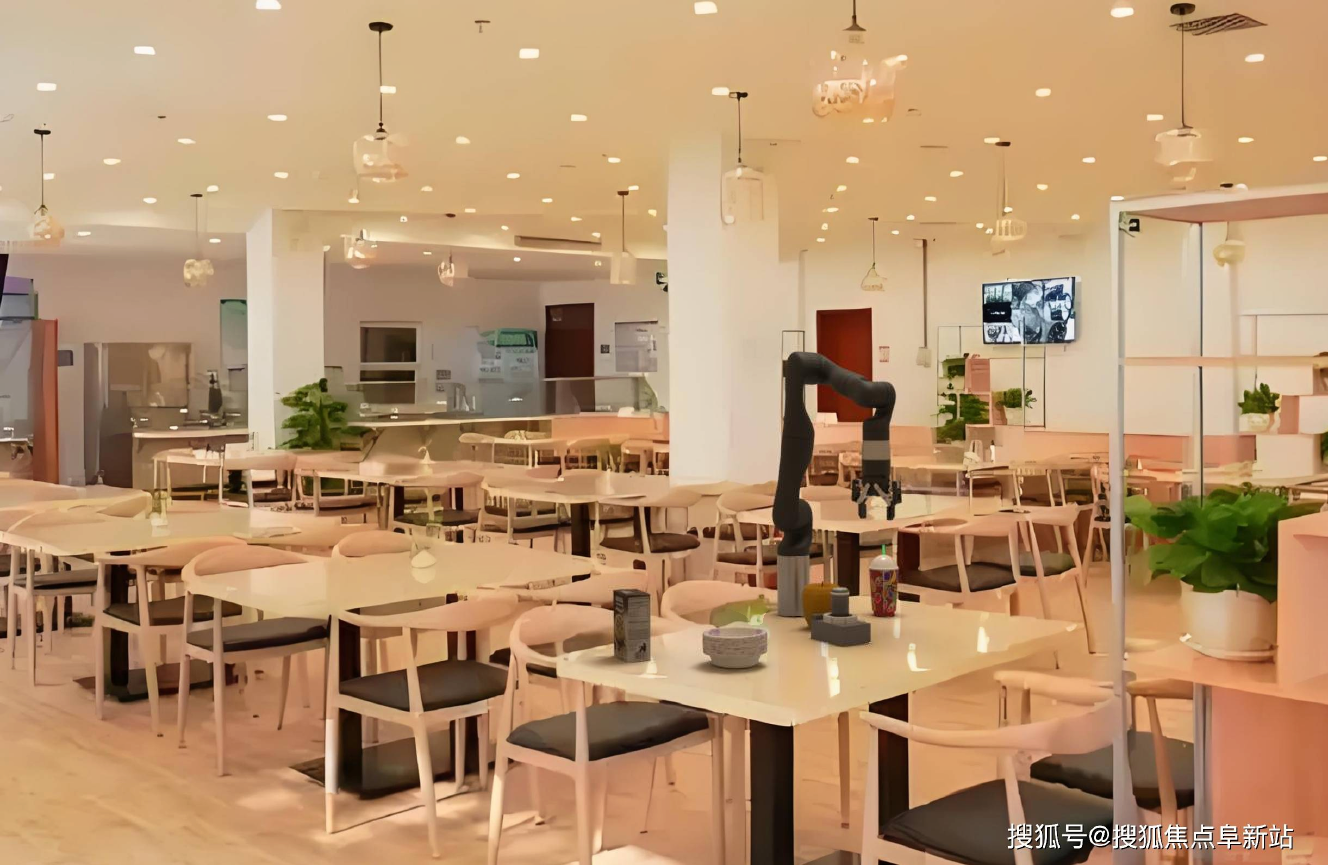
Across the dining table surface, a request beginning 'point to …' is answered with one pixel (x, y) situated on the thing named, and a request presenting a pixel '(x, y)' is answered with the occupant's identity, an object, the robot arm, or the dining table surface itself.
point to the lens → (840, 602)
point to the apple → (816, 599)
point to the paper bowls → (735, 646)
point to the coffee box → (631, 624)
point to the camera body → (840, 629)
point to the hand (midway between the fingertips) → (876, 519)
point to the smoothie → (883, 584)
